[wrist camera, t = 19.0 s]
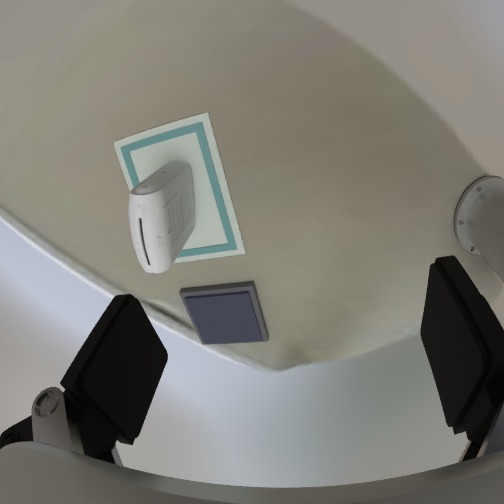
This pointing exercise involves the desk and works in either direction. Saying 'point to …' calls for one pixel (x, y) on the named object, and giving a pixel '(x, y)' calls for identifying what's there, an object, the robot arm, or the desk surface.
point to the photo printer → (162, 216)
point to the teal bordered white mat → (203, 178)
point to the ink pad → (226, 313)
